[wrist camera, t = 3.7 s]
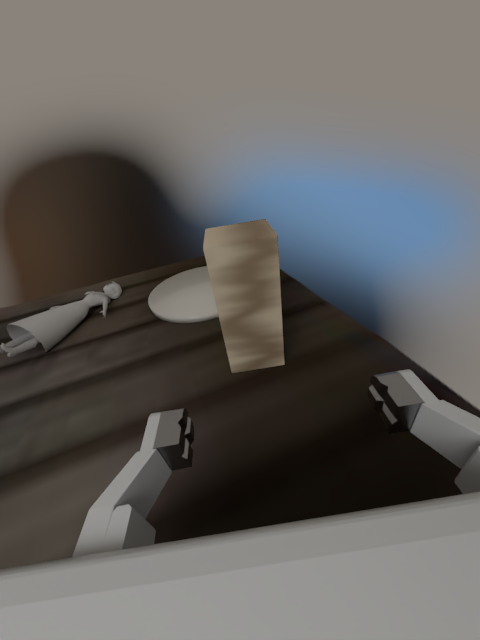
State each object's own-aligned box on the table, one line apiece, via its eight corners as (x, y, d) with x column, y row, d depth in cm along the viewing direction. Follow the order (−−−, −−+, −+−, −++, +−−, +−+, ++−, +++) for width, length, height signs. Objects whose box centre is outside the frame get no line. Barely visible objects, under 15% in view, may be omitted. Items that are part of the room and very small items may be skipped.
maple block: (231, 373, 23) (203, 247, 16) (229, 339, 27) (205, 228, 20) (284, 364, 23) (277, 235, 16) (274, 332, 27) (265, 218, 20)
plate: (137, 332, 31) (134, 325, 30) (161, 279, 44) (159, 274, 44) (263, 311, 31) (262, 304, 30) (249, 264, 44) (248, 259, 43)
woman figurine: (-39, 330, 29) (89, 274, 43) (-15, 360, 31) (99, 297, 45) (20, 342, 25) (141, 275, 39) (43, 375, 27) (149, 300, 41)
